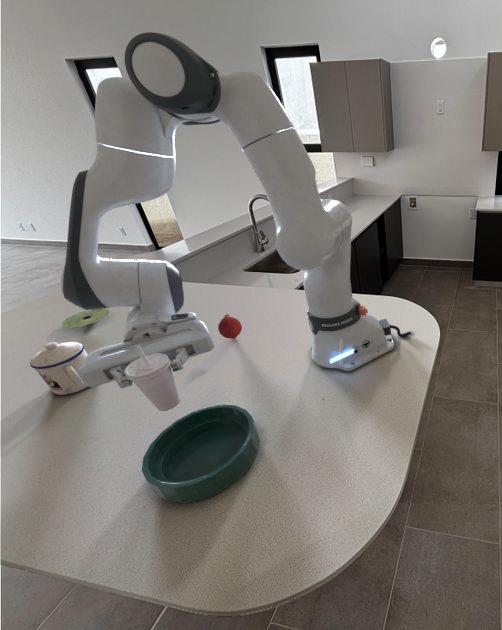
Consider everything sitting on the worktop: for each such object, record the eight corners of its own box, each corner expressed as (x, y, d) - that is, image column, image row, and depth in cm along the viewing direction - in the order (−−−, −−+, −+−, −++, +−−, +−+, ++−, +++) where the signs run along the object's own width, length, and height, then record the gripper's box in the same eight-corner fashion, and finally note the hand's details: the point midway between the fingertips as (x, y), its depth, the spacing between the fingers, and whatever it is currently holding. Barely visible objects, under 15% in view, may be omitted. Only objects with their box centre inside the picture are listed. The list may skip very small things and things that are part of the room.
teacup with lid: (47, 386, 80) (16, 347, 74) (94, 365, 86) (69, 328, 80) (62, 407, 74) (30, 367, 68) (112, 383, 80) (86, 345, 74)
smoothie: (158, 422, 59) (121, 361, 52) (141, 407, 62) (104, 348, 55) (195, 399, 64) (165, 340, 56) (178, 387, 66) (147, 329, 59)
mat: (91, 333, 99) (88, 327, 98) (54, 332, 99) (50, 327, 98) (121, 313, 109) (118, 308, 108) (87, 313, 109) (84, 308, 108)
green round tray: (253, 409, 73) (247, 393, 71) (267, 472, 60) (260, 455, 58) (157, 444, 66) (146, 427, 63) (150, 525, 53) (136, 508, 50)
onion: (236, 345, 94) (227, 321, 89) (218, 342, 95) (208, 319, 90) (249, 333, 98) (241, 310, 94) (231, 331, 99) (223, 308, 95)
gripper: (77, 342, 61) (61, 386, 51) (203, 310, 71) (210, 341, 61) (95, 368, 65) (83, 414, 55) (213, 334, 74) (221, 368, 64)
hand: (151, 375), depth 58 cm, fingers closed on smoothie, 6 cm apart
